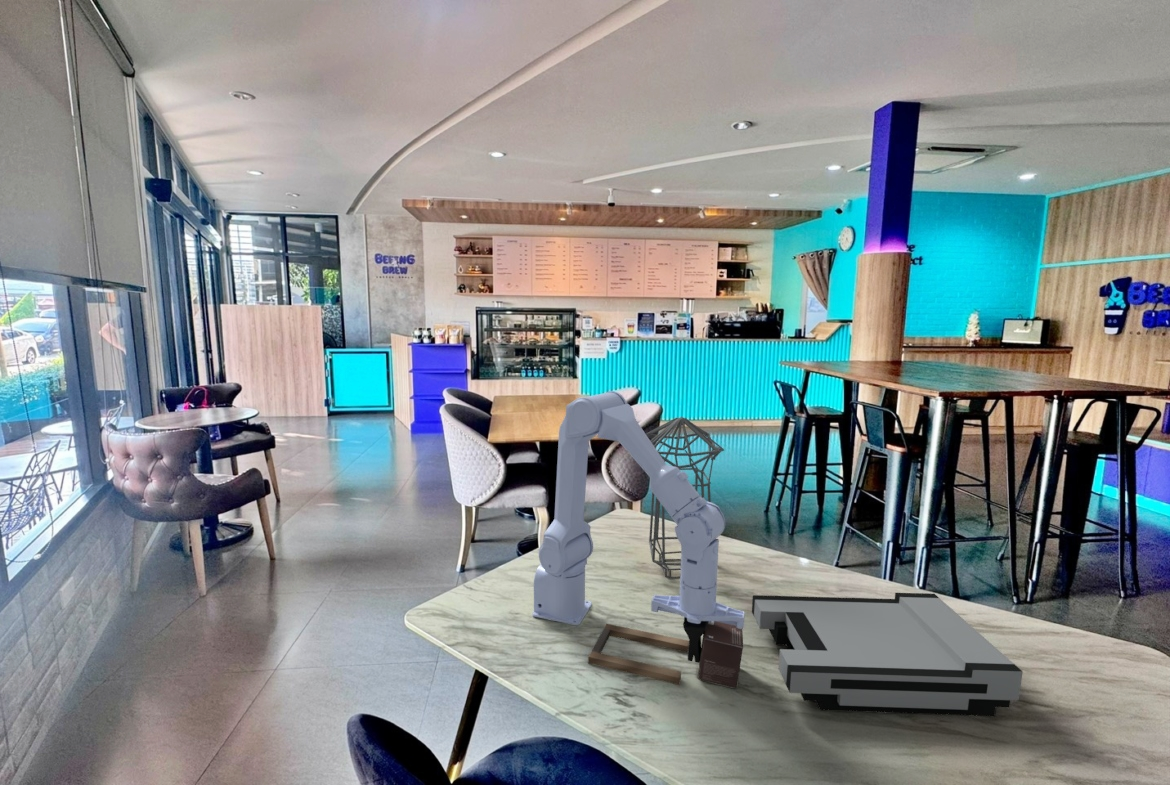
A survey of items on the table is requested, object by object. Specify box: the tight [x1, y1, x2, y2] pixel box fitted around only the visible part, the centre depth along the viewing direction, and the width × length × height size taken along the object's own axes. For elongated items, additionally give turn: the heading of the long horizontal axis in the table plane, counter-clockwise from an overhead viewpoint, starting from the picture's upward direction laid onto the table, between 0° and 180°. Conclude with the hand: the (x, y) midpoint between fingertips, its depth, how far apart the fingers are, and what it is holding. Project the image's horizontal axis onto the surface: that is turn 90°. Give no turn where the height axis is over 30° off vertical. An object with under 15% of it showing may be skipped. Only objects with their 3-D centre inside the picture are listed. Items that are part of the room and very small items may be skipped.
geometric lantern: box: [645, 416, 725, 579], centre depth 118 cm, size 16×16×35 cm
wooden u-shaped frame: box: [587, 623, 689, 686], centre depth 91 cm, size 15×10×1 cm, turn 70°
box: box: [697, 621, 744, 689], centre depth 86 cm, size 6×6×7 cm
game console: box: [751, 592, 1024, 717], centre depth 87 cm, size 21×32×8 cm, turn 88°
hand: (695, 658), depth 88 cm, fingers closed, pressing on box
